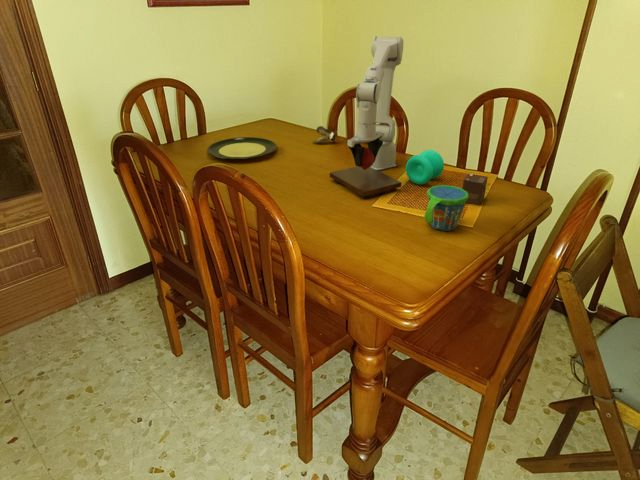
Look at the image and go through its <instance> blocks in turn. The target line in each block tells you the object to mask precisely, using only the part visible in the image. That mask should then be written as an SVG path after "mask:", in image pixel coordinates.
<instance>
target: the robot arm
mask: <svg viewBox="0 0 640 480" xmlns="http://www.w3.org/2000/svg"><path fill="white" fill-rule="evenodd" d="M370 49H371V50H370V51H371V52H370V53H371V55H372V57H373V60H372V64H371V65H369V66H368V67H367V68H366V71H365V73H364V76H363V79H362V81H361V82H360V83H358V84H357V86H356V91H355V98H356V107H357V133H355V136H353V137H352V138H350V139H347V147H348V149H349V150H350V152H351V154H352V157H353V161H354V166H355V167H356V166H358V167H361V165H362V157H363V152H364V150H365V147H364V146H362V144H365V143H366V144H367V148H368V149H369V150H371V151H372V153H373V154H374V163H373V165H372V166H371V168H373V169H375V170H378V171H381V170H382V171H383V170H387V169H390V168H394V167H397V164H396V157H397V156H396V155H397V146H396V144H395V142H394V141H395V137H396V121H395V119H393V118H392V117H391V116H390V108H391V100H392V94H393V93H392V92H393V85H394V75H395V71H396V67H398V66H400V65H401V63H402V61H403V60H402V59H403V53H404V38H403V37H402V36H377V35H375V36H374V37H373V38H372V40H371V47H370Z"/></svg>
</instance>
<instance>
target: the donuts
mask: <svg viewBox="0 0 640 480" xmlns="http://www.w3.org/2000/svg"><path fill="white" fill-rule="evenodd" d="M444 168H445V162H444V159H443V157H442V155H441V154H440V153H439V152H438V151H436V150H433V149H427V150H424V151H422V152H421V153H420V154H416V155H413V156H411V157H409V159H408V160H407V162H406V164H405V173H406V175H407V178H408V180H409V181H411V182H412V183H414V184H416V185H425V184H427V183H429V182H430V181H431V180H434V179H437V178H439V177H440V176H441V175H442V174H443V172H444Z"/></svg>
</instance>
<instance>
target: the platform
mask: <svg viewBox="0 0 640 480" xmlns="http://www.w3.org/2000/svg"><path fill="white" fill-rule="evenodd" d="M329 177H330V178H331V179H333V181H334V182H335V183H337V184H341V185H343V186H345V187H346V188H348V189H350V190H352V191H353V192H355V193H356V194H358V195H359V197H360V198H362V199H367V198H368V199H369V198H372V197H375V196H379V195H383V194H386V193H391V192H394V191H396V190H397V189H398V188H402V181H399V180H398V179H396V178H394V177H392V176H389V175H388V174H385V173H383V172H381V170H375V169H373V168H371V167H369V168H368V169H366V170H364V169H362V168H361V167H358V166H356V165H355V166H353V167H352V166H351V167H347V168H343V169H339V170H334V171H331V172H329Z"/></svg>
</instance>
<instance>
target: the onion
mask: <svg viewBox="0 0 640 480" xmlns="http://www.w3.org/2000/svg"><path fill="white" fill-rule="evenodd" d="M363 147H365V150H364V152H363V157H362V165H361V168H362V169H364V170H366V169H368V168H369V167H371V166H372V165H373V163H374V154H373V153H372V151H371V150H369V149H368V146H366V145H364V146H363Z"/></svg>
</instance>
